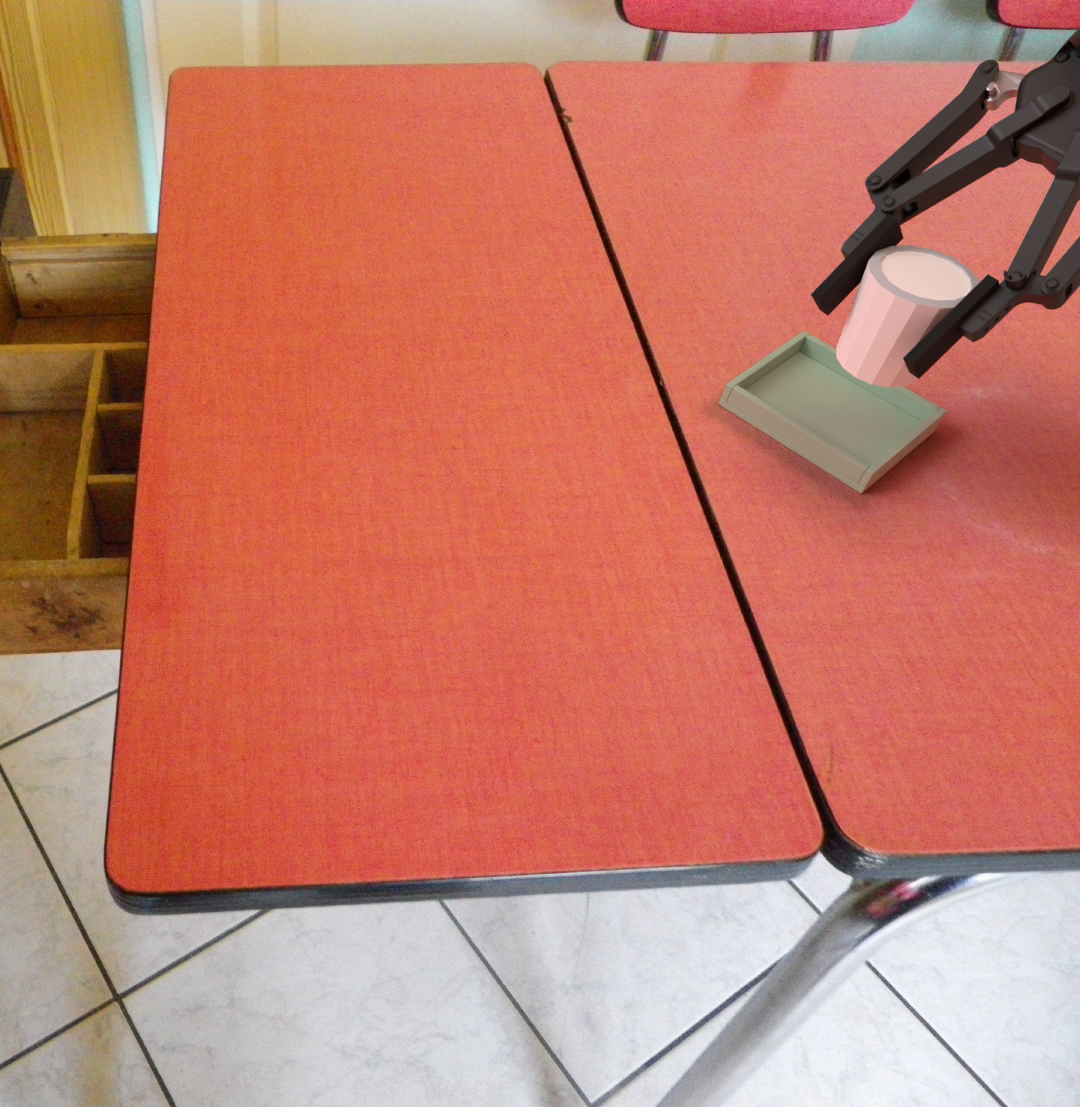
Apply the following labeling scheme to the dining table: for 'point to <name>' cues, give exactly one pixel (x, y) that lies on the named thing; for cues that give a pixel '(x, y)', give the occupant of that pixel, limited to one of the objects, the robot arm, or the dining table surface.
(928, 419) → the green tray
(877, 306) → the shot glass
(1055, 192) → the robot arm
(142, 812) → the dining table surface
